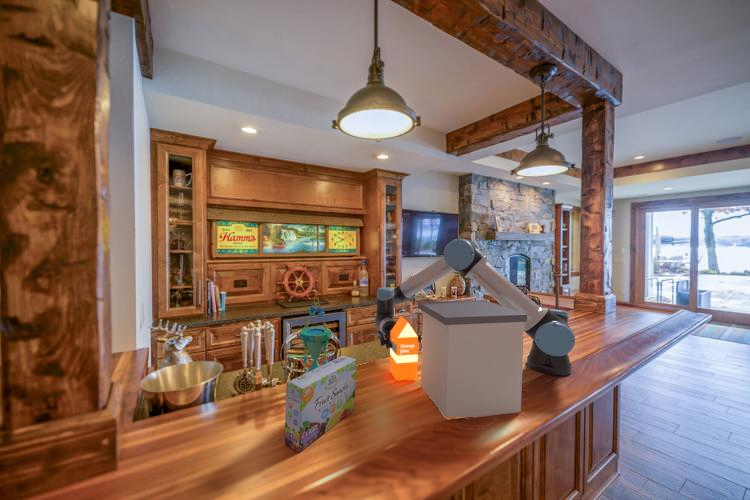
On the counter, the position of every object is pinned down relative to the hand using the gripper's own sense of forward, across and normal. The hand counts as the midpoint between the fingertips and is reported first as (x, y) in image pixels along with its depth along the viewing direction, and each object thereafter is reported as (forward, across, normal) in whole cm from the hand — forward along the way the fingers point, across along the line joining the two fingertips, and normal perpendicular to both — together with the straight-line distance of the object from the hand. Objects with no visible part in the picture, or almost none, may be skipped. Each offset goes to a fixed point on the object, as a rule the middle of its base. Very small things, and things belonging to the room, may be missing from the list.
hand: (408, 348), depth 101 cm
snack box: (+19, +29, -12) cm, 37 cm away
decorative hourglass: (-1, +31, -12) cm, 33 cm away
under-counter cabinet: (+13, -15, -12) cm, 23 cm away
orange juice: (-5, 0, -11) cm, 12 cm away
